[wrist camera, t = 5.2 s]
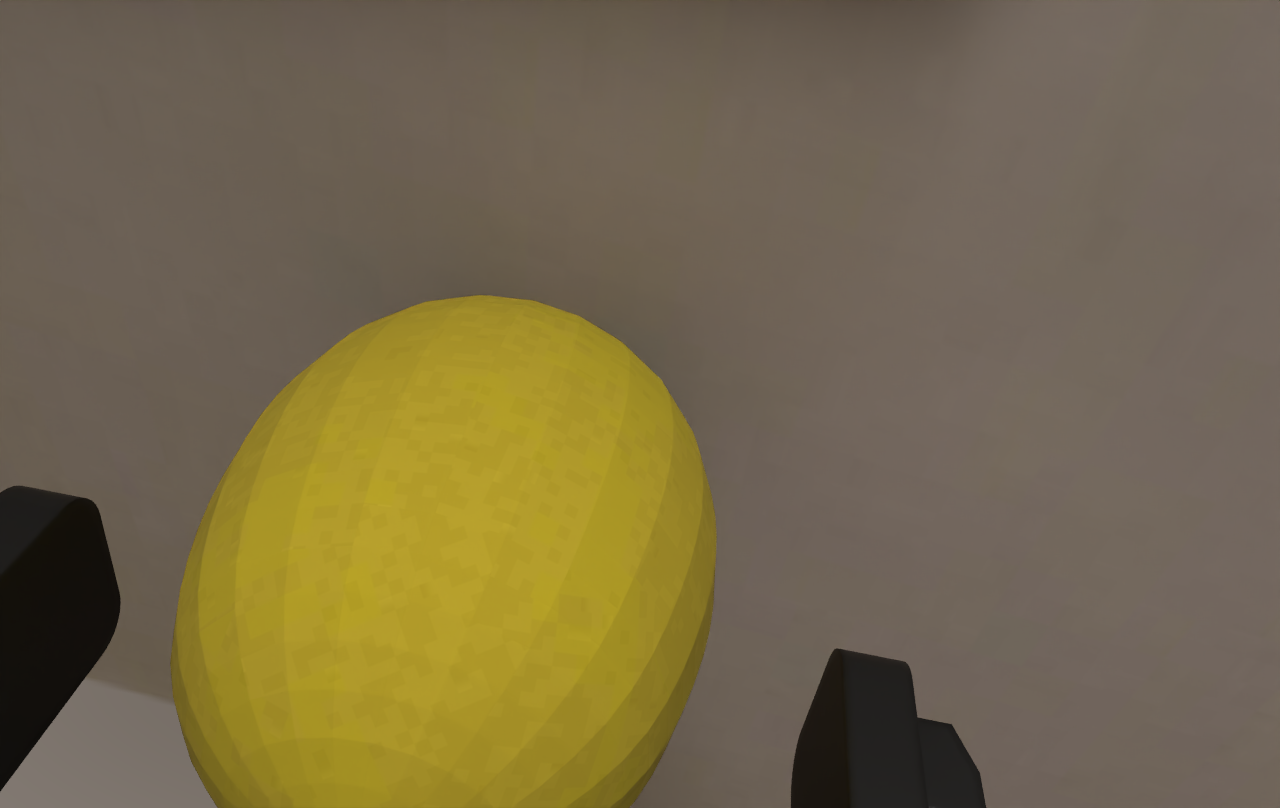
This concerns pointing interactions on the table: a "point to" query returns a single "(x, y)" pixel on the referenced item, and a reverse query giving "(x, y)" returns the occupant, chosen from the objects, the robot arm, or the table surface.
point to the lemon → (450, 573)
